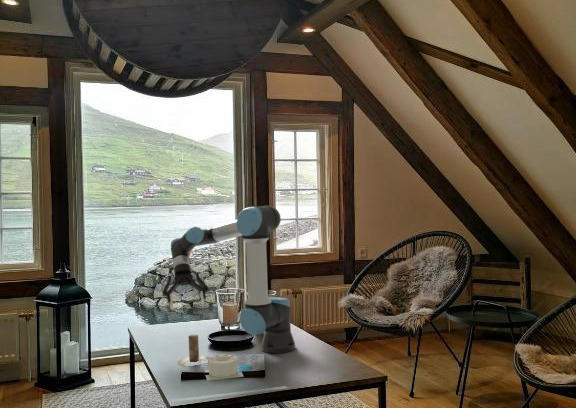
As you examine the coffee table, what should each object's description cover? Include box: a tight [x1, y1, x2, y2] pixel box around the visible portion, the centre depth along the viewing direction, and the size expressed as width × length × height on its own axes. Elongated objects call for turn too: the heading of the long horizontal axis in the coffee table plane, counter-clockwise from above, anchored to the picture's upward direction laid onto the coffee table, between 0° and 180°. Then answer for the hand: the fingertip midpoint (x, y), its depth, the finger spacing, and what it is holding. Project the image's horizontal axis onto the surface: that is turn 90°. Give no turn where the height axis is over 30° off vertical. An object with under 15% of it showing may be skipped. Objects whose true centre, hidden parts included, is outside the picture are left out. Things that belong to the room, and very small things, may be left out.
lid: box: [176, 334, 210, 367], centre depth 240 cm, size 14×14×12 cm
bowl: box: [207, 353, 239, 378], centre depth 224 cm, size 11×11×6 cm
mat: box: [205, 371, 244, 381], centre depth 224 cm, size 14×14×1 cm
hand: (187, 306), depth 250 cm, fingers open, 13 cm apart
